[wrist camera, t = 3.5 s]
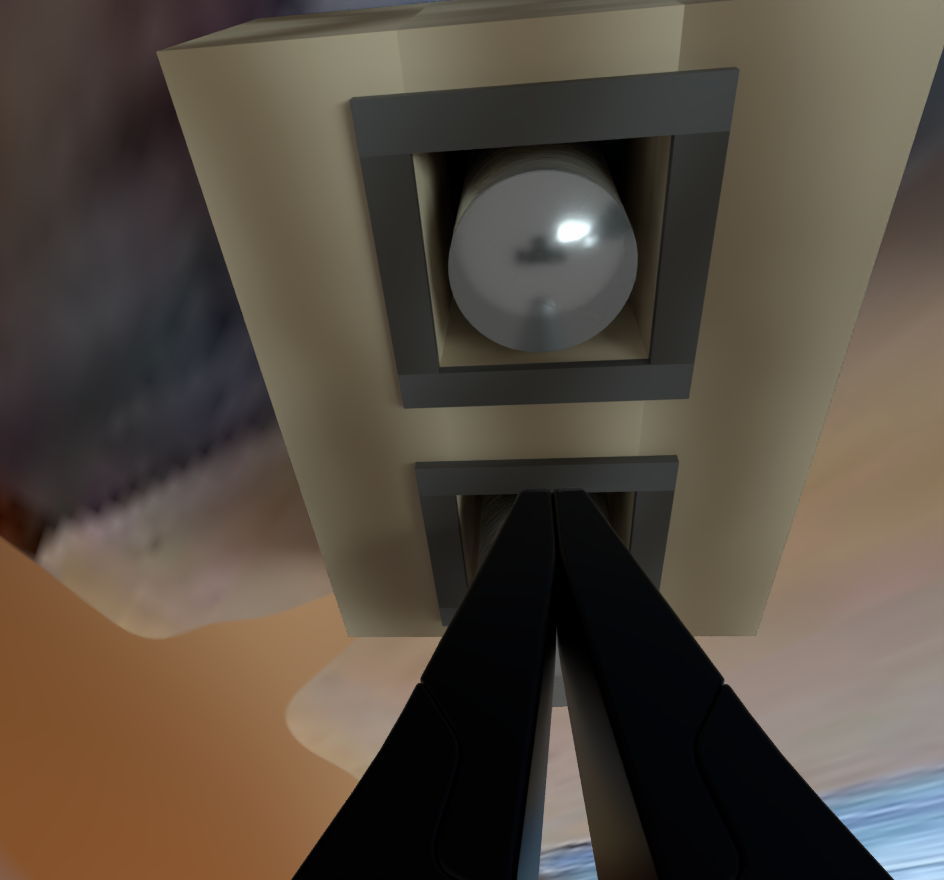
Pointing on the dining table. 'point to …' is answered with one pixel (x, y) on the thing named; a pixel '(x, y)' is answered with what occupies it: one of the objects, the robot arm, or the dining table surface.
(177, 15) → the dining table surface
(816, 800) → the robot arm
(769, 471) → the jig block
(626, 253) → the peg
